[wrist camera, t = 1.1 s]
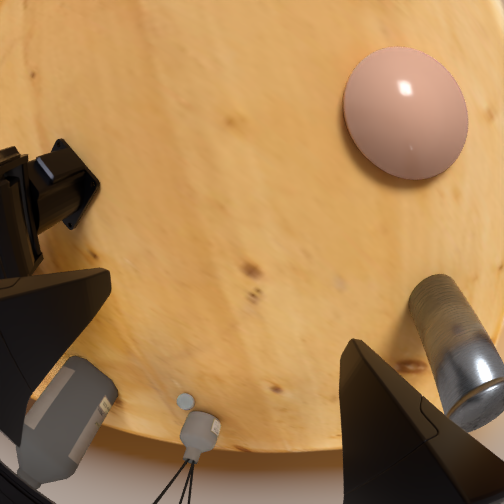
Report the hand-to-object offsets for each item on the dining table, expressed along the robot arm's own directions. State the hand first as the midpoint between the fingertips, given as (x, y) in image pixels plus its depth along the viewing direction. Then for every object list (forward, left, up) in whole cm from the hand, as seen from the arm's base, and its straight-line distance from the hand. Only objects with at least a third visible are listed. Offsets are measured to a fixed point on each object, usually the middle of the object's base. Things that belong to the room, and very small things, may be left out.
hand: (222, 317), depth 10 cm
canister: (+6, -15, -12) cm, 20 cm away
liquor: (-38, -2, -12) cm, 40 cm away
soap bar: (+12, -1, -12) cm, 17 cm away
